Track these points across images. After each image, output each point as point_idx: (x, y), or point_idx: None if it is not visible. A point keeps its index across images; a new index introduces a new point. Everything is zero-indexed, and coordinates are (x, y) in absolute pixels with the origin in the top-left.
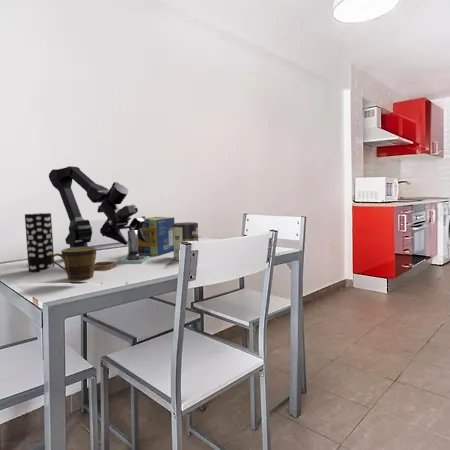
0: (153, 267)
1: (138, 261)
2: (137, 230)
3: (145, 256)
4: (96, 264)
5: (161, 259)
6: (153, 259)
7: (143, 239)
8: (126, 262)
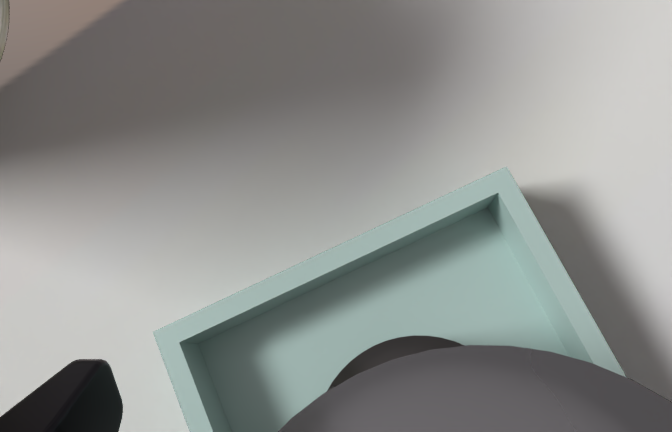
0: (490, 6)
1: (529, 213)
2: (293, 417)
3: (195, 378)
4: None
5: (20, 269)
6: None
7: (94, 389)
8: None
